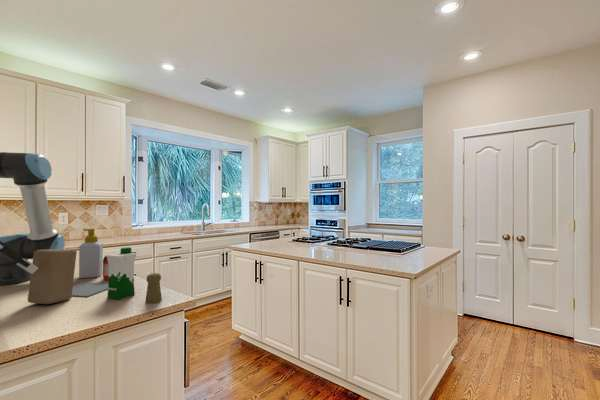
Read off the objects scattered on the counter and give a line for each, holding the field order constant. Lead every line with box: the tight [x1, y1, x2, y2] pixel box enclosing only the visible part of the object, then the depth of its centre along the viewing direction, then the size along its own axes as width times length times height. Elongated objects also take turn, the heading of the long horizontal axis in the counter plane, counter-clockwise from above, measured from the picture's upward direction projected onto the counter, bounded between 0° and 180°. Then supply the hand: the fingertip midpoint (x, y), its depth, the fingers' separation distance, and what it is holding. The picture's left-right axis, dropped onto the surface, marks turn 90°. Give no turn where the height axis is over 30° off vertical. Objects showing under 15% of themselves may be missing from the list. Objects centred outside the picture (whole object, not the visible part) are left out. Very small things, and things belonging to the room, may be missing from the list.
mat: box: [72, 281, 108, 298], centre depth 132 cm, size 18×18×1 cm
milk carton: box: [106, 247, 137, 301], centre depth 123 cm, size 9×9×20 cm
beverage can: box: [102, 254, 109, 281], centre depth 150 cm, size 6×6×12 cm
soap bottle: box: [78, 228, 104, 279], centre depth 155 cm, size 9×9×25 cm
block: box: [27, 249, 77, 305], centre depth 116 cm, size 10×10×20 cm
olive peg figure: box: [144, 272, 163, 305], centre depth 117 cm, size 6×6×11 cm
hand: (34, 270), depth 110 cm, fingers closed
